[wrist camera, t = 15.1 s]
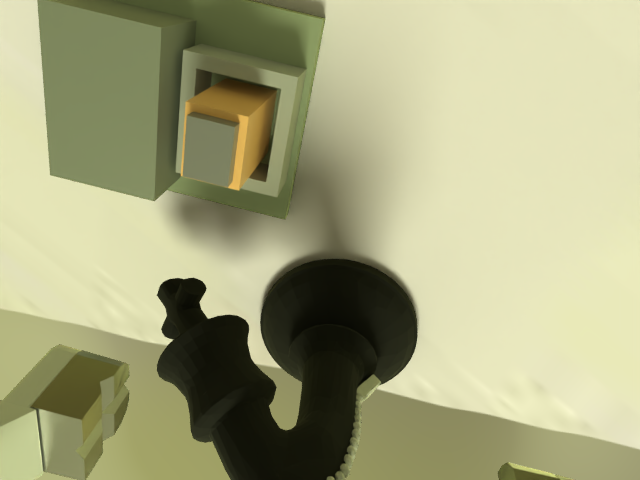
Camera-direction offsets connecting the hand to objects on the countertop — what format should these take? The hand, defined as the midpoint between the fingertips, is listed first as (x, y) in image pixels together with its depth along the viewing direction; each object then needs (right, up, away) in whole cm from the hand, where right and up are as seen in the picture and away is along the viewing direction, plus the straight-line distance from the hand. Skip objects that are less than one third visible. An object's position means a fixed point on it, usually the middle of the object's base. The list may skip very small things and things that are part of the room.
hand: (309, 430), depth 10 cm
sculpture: (-2, -2, +37) cm, 38 cm away
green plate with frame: (-10, +15, +29) cm, 34 cm away
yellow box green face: (-5, +14, +28) cm, 31 cm away
